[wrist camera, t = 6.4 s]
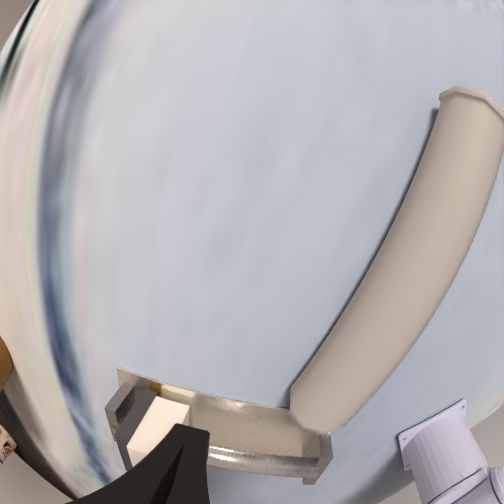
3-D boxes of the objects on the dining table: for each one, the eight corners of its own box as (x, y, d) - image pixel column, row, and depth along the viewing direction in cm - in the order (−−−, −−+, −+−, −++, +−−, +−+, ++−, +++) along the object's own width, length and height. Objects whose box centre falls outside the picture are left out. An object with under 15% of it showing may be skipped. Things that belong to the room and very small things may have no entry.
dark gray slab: (157, 392, 20) (128, 440, 15) (160, 432, 22) (139, 475, 16) (144, 388, 20) (114, 434, 15) (149, 428, 22) (126, 470, 16)
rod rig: (340, 412, 20) (348, 453, 15) (313, 461, 22) (314, 497, 17) (117, 366, 21) (91, 397, 16) (127, 421, 23) (108, 451, 18)
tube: (343, 445, 16) (520, 140, 10) (285, 449, 14) (488, 83, 8) (320, 398, 21) (466, 132, 15) (266, 393, 19) (427, 87, 13)
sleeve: (189, 405, 20) (166, 460, 14) (188, 442, 21) (170, 490, 15) (156, 396, 20) (126, 446, 14) (159, 433, 21) (136, 478, 15)
